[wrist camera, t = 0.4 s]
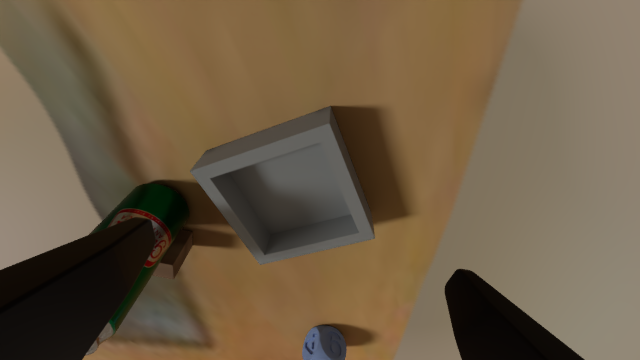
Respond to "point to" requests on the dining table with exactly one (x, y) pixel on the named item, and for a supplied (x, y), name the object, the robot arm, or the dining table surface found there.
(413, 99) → the dining table surface
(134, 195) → the soda can
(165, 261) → the brown rectangular block
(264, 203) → the tray
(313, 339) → the decorative dice
